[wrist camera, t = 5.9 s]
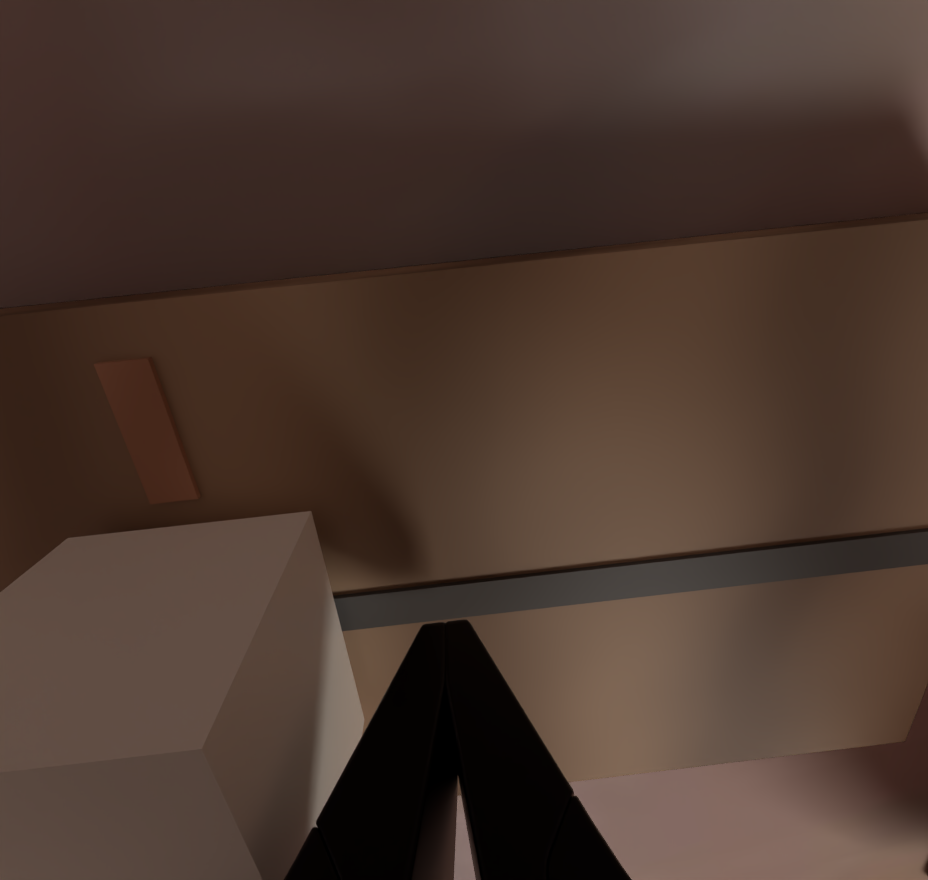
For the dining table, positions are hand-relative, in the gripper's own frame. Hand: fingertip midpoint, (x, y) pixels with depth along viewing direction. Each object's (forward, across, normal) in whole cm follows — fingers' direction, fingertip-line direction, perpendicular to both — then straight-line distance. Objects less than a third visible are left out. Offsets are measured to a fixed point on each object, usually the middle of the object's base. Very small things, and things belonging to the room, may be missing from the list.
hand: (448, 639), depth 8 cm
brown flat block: (+4, -1, 0) cm, 4 cm away
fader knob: (+1, +4, 0) cm, 4 cm away
